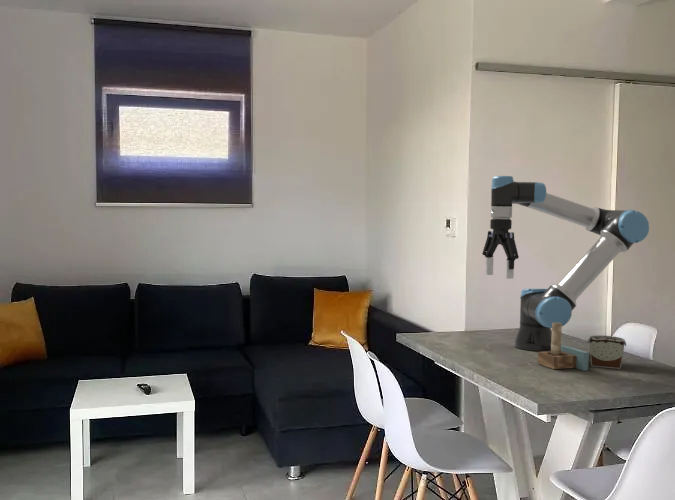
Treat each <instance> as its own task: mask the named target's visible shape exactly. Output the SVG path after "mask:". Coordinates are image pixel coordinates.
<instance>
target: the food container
mask: <svg viewBox="0 0 675 500" xmlns="http://www.w3.org/2000/svg"><path fill="white" fill-rule="evenodd" d="M587 340H588V341H587V344H589V352H590V353H589V355H590V366H591V367H596V368H597V367H598V368H607V369H608V368H609V369H618V370H621V369H622V368H621V367H622V362H623V358H624V357H623V355H624V349H625V347H627V341H626V339H625V338H623V337H618V336H613V335H612V336H611V335H590V336H589V338H588V339H587Z"/></svg>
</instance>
